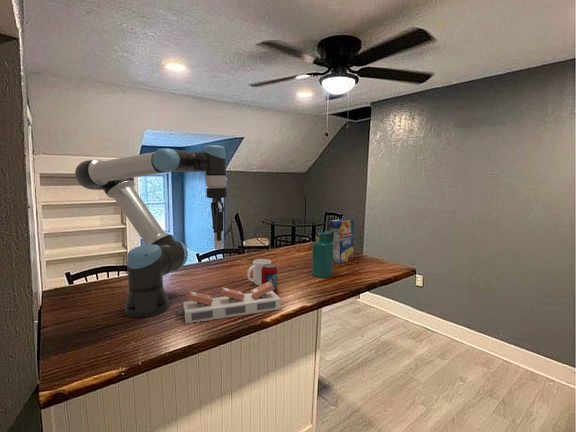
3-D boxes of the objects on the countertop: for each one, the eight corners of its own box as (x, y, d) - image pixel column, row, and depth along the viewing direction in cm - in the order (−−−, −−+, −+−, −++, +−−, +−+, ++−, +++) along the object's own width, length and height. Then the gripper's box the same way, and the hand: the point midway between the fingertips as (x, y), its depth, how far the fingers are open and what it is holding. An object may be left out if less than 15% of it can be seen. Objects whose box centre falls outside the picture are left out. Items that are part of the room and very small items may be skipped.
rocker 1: (188, 300, 111) (190, 294, 111) (187, 295, 116) (189, 290, 116) (211, 304, 114) (212, 299, 114) (209, 300, 119) (211, 295, 119)
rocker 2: (222, 295, 116) (224, 290, 116) (220, 291, 120) (221, 286, 120) (243, 300, 119) (244, 295, 119) (240, 296, 123) (241, 291, 123)
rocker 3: (255, 298, 120) (253, 294, 120) (252, 294, 124) (250, 290, 124) (274, 289, 123) (272, 284, 122) (270, 285, 127) (269, 280, 126)
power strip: (176, 325, 108) (175, 310, 107) (175, 313, 117) (174, 299, 117) (280, 309, 121) (280, 295, 121) (272, 299, 131) (272, 287, 130)
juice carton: (343, 257, 197) (344, 218, 195) (353, 260, 192) (353, 220, 189) (329, 261, 190) (330, 220, 187) (339, 263, 184) (340, 222, 181)
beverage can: (271, 296, 134) (271, 268, 133) (258, 293, 138) (258, 266, 136) (280, 291, 140) (280, 264, 138) (267, 288, 143) (267, 262, 142)
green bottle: (322, 279, 157) (323, 234, 154) (310, 275, 163) (310, 232, 161) (336, 274, 163) (336, 231, 161) (323, 271, 170) (324, 229, 167)
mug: (252, 288, 143) (251, 266, 142) (243, 283, 150) (242, 262, 149) (274, 283, 151) (274, 261, 149) (264, 279, 157) (264, 258, 156)
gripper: (230, 187, 118) (232, 251, 121) (222, 186, 130) (224, 244, 133) (209, 187, 115) (212, 253, 118) (203, 187, 127) (205, 246, 130)
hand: (218, 248), depth 125 cm, fingers closed
